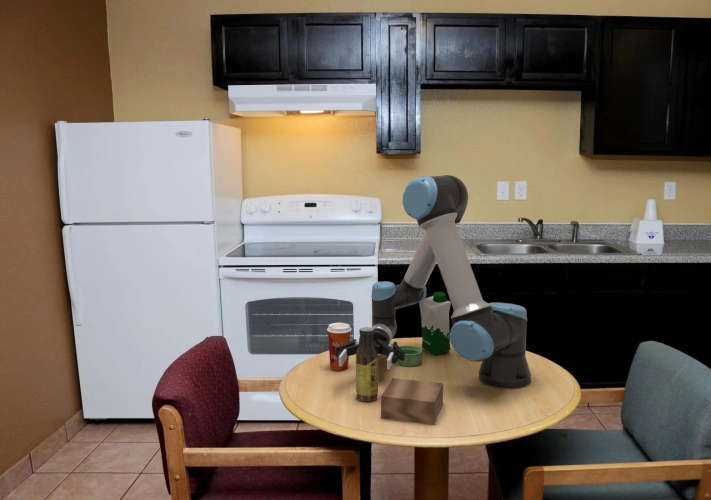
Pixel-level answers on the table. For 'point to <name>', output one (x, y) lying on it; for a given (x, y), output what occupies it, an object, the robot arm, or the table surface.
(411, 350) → the ramekin
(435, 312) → the milk carton
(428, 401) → the walnut block
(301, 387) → the table surface
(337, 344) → the paper cup
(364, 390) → the sauce bottle
